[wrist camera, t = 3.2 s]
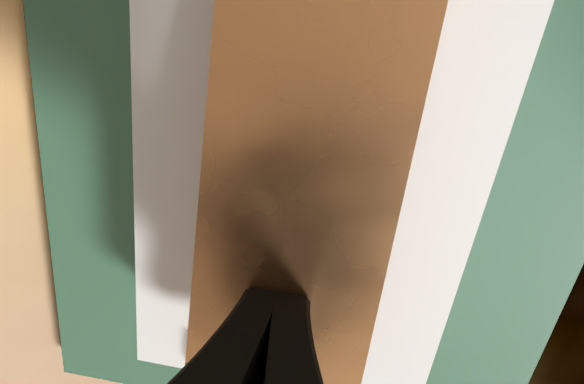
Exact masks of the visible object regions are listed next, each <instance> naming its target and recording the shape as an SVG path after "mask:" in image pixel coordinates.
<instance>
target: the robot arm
mask: <svg viewBox="0 0 584 384" xmlns="http://www.w3.org/2000/svg"><path fill="white" fill-rule="evenodd" d="M310 304H311V302H310V301H309V299H308V298H307V297H305V296H299V295H293V294H288V293H282V292H277V291H271V290H265V289H260V288H254V287H250V288H248V289H246V290H245V291H244V293H243V295H242V296H241V298H240V299H239V301H238V302H237V304H236V305H235V307H234V308H233V310H232V311H231V312H230V314H229V315H228V316H227V318H226V319H225V320H224V322H223V323H222V324H221V325H220V327H219V328H218V329H217V330H216V331H215V333H214V334H213V335H212V336H211V337H210V338H209V340H208V341H207V342H206V343H205V344H204V346H203V347H202V348H201V349H200V350H199V351H198V352H197V353H196V355H195V356H194V357H193V358H192V359H191V360H190V361H189V362H188V363H187V364H186V365H185V366H184V367H183V368H182V369H181V370H180V371H179V372H178V373H177V374H176V375H175V376H174V377H173V378H172V379H171V380H170V381H169V382H168V383H167V384H324V383H323V379H322V375H321V371H320V367H319V363H318V359H317V355H316V351H315V346H314V340H313V334H312V327H311V317H310Z"/></svg>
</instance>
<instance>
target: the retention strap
mask: <svg viewBox="0 0 584 384" xmlns="http://www.w3.org/2000/svg"><path fill="white" fill-rule="evenodd" d="M447 4H448V0H214V11H213V24H212V36H211V48H210V61H209V73H208V86H207V98H206V110H205V123H204V135H203V148H202V160H201V172H200V185H199V197H198V209H197V222H196V234H195V247H194V259H193V271H192V284H191V296H190V309H189V321H188V333H187V346H186V358H185V365H186V364H187V363H188V362H189V361H190V360H191V359H192V358H193V357H194V356H195V355H196V353H197V352H198V351H199V350H200V349H201V348H202V347H203V346H204V344H205V343H206V342H207V341H208V340H209V338H210V337H211V336H212V335H213V334H214V333H215V331H216V330H217V329H218V328H219V327H220V325H221V324H222V323H223V322H224V320H225V319H226V318H227V316H228V315H229V314H230V312H231V311H232V310H233V308H234V307H235V305H236V304H237V302H238V301H239V299H240V298H241V296H242V295H243V293H244V291H245V290H246V289H248V288H250V287H254V288H260V289H265V290H271V291H277V292H282V293H288V294H293V295H299V296H305V297H307V298H308V299H309V301H310V302H311V304H310V317H311V327H312V334H313V340H314V346H315V351H316V355H317V359H318V363H319V367H320V371H321V375H322V379H323V383H324V384H361V383H362V378H363V374H364V369H365V365H366V361H367V356H368V352H369V347H370V343H371V339H372V334H373V330H374V325H375V321H376V316H377V312H378V308H379V303H380V299H381V294H382V290H383V286H384V281H385V277H386V272H387V268H388V264H389V259H390V255H391V250H392V246H393V242H394V237H395V233H396V228H397V224H398V220H399V215H400V211H401V206H402V202H403V198H404V193H405V189H406V184H407V180H408V176H409V171H410V167H411V162H412V158H413V154H414V149H415V145H416V140H417V136H418V132H419V127H420V123H421V118H422V114H423V110H424V105H425V101H426V96H427V92H428V88H429V83H430V79H431V74H432V70H433V66H434V61H435V57H436V52H437V48H438V44H439V39H440V35H441V30H442V26H443V22H444V17H445V13H446V8H447Z"/></svg>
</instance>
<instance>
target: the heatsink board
mask: <svg viewBox="0 0 584 384" xmlns="http://www.w3.org/2000/svg"><path fill="white" fill-rule="evenodd" d="M23 8H24V17H25V26H26V35H27V44H28V53H29V62H30V71H31V80H32V89H33V98H34V107H35V115H36V124H37V133H38V142H39V151H40V160H41V169H42V178H43V187H44V196H45V205H46V214H47V222H48V231H49V240H50V249H51V258H52V267H53V276H54V285H55V294H56V303H57V312H58V321H59V329H60V338H61V347H62V356H63V365H64V372H68V373H73V374H78V375H83V376H88V377H94V378H99V379H104V380H109V381H114V382H119V383H124V384H167V383H168V382H169V381H170V380H171V379H172V378H173V377H174V376H175V375H176V374H177V373H178V372H179V371H180V370H181V369H182V368H183V367H184V366H185V358H186V346H187V333H188V321H189V309H190V296H191V284H192V271H193V259H194V247H195V234H196V222H197V209H198V197H199V185H200V172H201V160H202V148H203V135H204V123H205V110H206V98H207V86H208V73H209V61H210V48H211V36H212V24H213V11H214V0H23ZM583 264H584V0H448V4H447V8H446V13H445V17H444V22H443V26H442V30H441V35H440V39H439V44H438V48H437V52H436V57H435V61H434V66H433V70H432V74H431V79H430V83H429V88H428V92H427V96H426V101H425V105H424V110H423V114H422V118H421V123H420V127H419V132H418V136H417V140H416V145H415V149H414V154H413V158H412V162H411V167H410V171H409V176H408V180H407V184H406V189H405V193H404V198H403V202H402V206H401V211H400V215H399V220H398V224H397V228H396V233H395V237H394V242H393V246H392V250H391V255H390V259H389V264H388V268H387V272H386V277H385V281H384V286H383V290H382V294H381V299H380V303H379V308H378V312H377V316H376V321H375V325H374V330H373V334H372V339H371V343H370V347H369V352H368V356H367V361H366V365H365V369H364V374H363V378H362V383H361V384H528V382H529V380H530V378H531V376H532V374H533V372H534V370H535V367H536V365H537V363H538V361H539V359H540V357H541V354H542V352H543V350H544V348H545V346H546V344H547V341H548V339H549V337H550V335H551V333H552V331H553V328H554V326H555V324H556V322H557V320H558V318H559V315H560V313H561V311H562V309H563V307H564V305H565V303H566V300H567V298H568V296H569V294H570V292H571V290H572V287H573V285H574V283H575V281H576V279H577V277H578V274H579V272H580V270H581V268H582V266H583Z"/></svg>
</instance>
